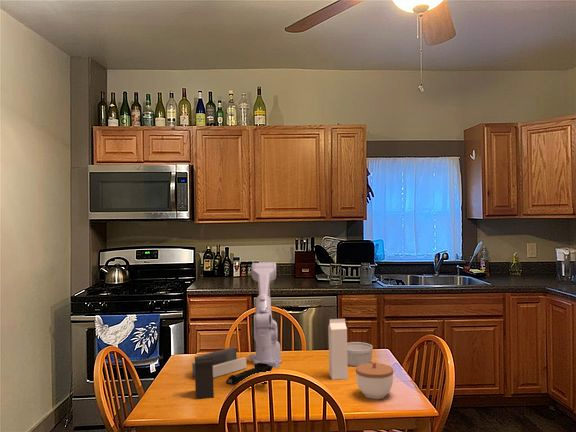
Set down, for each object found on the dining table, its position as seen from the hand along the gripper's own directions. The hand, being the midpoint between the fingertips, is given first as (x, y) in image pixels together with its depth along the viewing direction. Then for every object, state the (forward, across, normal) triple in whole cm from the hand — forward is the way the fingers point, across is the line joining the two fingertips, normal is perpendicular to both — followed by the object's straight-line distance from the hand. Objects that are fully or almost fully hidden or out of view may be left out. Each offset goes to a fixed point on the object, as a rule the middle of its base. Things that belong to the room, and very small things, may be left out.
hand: (264, 383), depth 178 cm
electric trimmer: (+2, -12, 0) cm, 12 cm away
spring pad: (+1, -22, -1) cm, 22 cm away
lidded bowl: (+1, +34, +20) cm, 39 cm away
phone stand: (+1, -10, -19) cm, 22 cm away
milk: (+1, +13, +26) cm, 29 cm away
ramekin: (+1, +7, +45) cm, 46 cm away
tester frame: (+1, -26, -1) cm, 26 cm away
